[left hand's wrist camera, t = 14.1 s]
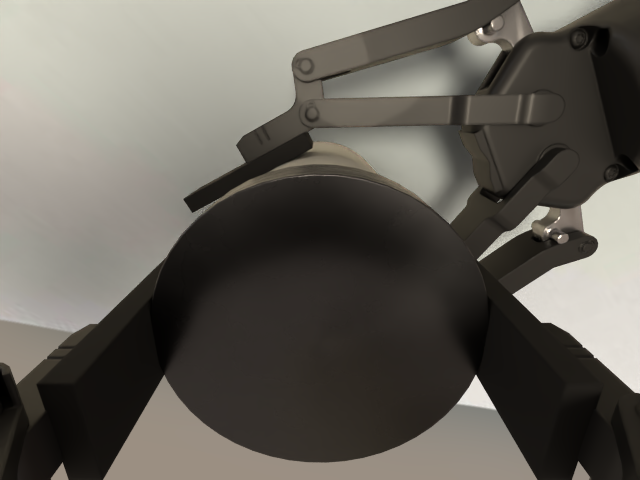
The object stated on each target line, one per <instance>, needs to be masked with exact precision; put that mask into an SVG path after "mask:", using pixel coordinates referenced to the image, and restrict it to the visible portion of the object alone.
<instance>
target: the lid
mask: <svg viewBox="0 0 640 480" xmlns="http://www.w3.org/2000/svg"><path fill="white" fill-rule="evenodd" d="M151 323H152V330H153V335H154V340H155V346H156V351H157V356H158V360H159V364H160V366H161V368H162V370H163V372H164V374H165V377H166V379H167V381H168V382H169V384H170V385H171V387H172V388H173V390H174V391H175V393H176V394H177V396H178V397H179V398H180V400H181V401H182V402H183V403H184V404H185V405H186V407H187V408H188V409H189V410H190V411H191V412H192V413H193V414H194V415H195V416H196V417H198V418H199V419H200V420H201V421H202V422H203V423H204V424H206V425H207V426H208V427H210V428H211V429H213V430H214V431H215V432H217V433H218V434H220V435H222V436H223V437H225V438H227V439H229V440H231V441H232V442H234V443H236V444H238V445H241V446H243V447H245V448H248V449H250V450H252V451H255V452H259V453H262V454H265V455H268V456H272V457H277V458H282V459H286V460H293V461H302V462H338V461H348V460H353V459H359V458H364V457H368V456H371V455H375V454H379V453H382V452H384V451H387V450H390V449H392V448H395V447H397V446H400V445H402V444H404V443H406V442H408V441H409V440H411V439H413V438H415V437H417V436H418V435H420V434H421V433H423V432H424V431H426V430H428V429H429V428H430V427H432V426H433V425H434V424H436V423H437V422H438V421H439V420H440V419H441V418H443V417H444V416H445V415H446V414H447V413H448V412H449V411H450V410H451V409H452V408H453V407H454V406H455V405H456V403H457V402H458V401H459V400H460V399H461V397H462V396H463V394H464V393H465V392H466V390H467V389H468V388H469V386H470V384H471V382H472V380H473V379H474V377H475V375H476V373H477V371H478V369H479V366H480V364H481V361H482V357H483V352H484V347H485V342H486V336H487V331H488V325H489V306H488V296H487V292H486V288H485V284H484V281H483V277H482V274H481V272H480V270H479V268H478V265H477V263H476V261H475V258H474V257H473V255H472V254H471V252H470V250H469V249H468V247H467V246H466V244H465V242H464V241H463V239H462V238H461V237H460V236H459V235H458V234H457V233H456V231H455V230H454V229H453V228H452V227H451V226H450V225H449V223H448V222H446V221H445V220H444V219H443V218H442V217H441V216H440V215H439V214H437V213H436V212H435V211H434V210H433V209H432V208H431V207H430V206H428V205H427V204H426V203H425V202H424V201H423V200H421V199H420V198H419V197H418V196H417V195H415V194H414V193H412V192H411V191H409V190H408V189H406V188H404V187H403V186H401V185H400V184H398V183H396V182H394V181H392V180H389V179H387V178H385V177H383V176H381V175H378V174H375V173H372V172H368V171H365V170H362V169H358V168H353V167H347V166H340V165H326V164H310V165H301V166H292V167H287V168H283V169H279V170H275V171H271V172H268V173H265V174H263V175H260V176H258V177H255V178H253V179H250V180H248V181H246V182H245V183H243V184H241V185H239V186H238V187H236V188H234V189H232V190H230V191H229V192H228V193H227V194H225V195H224V196H223V197H221V198H220V199H219V200H218V201H216V202H215V203H214V204H213V205H211V206H210V207H209V208H208V209H207V210H206V211H205V212H204V213H203V214H202V215H200V216H199V217H198V218H197V219H196V220H195V221H194V222H193V223H192V224H191V225H190V226H189V227H188V228H187V229H186V231H185V232H184V233H183V234H182V235H181V236H180V238H179V239H178V240H177V242H176V243H175V245H174V246H173V248H172V249H171V250H170V252H169V254H168V256H167V258H166V260H165V262H164V264H163V266H162V268H161V270H160V272H159V276H158V279H157V282H156V285H155V288H154V293H153V300H152V307H151Z"/></svg>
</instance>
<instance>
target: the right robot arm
mask: <svg viewBox="0 0 640 480" xmlns="http://www.w3.org/2000/svg"><path fill="white" fill-rule="evenodd" d="M466 35H467V37H468V39H469V41H470V42H471V43H472V44H473V45H476V46H482V45H485V44H487V43H496V44H498V45H499V46H500V47H501V48H502V51H501V53H500V54H499V56H498V58H497V59H496V61H495V63H494V64H493V66H492V68H491V69H490V71H489V73H488V74H487V76H486V78H485V79H484V81H483V83H482V84H481V86H480V88H479V89H478V91H477V93H476V94H475V95H459V96H422V97H380V98H338V99H324V95H323V87H322V81H325V80H328V79H332V78H335V77H339V76H342V75H345V74H349V73H352V72H356V71H359V70H363V69H366V68H369V67H373V66H376V65H380V64H383V63H387V62H390V61H393V60H397V59H400V58H404V57H407V56H411V55H414V54H417V53H421V52H424V51H428V50H431V49H435V48H438V47H441V46H444V45H447V44H450V43H452V42H454V41H456V40H458V39H460V38H462V37H464V36H466ZM292 71H293V76H294V83H295V90H296V99H295V103H294V105H293V106H292V108H291V109H290V110H288V111H287V112H285V113H284V114H282V115H280V116H278V117H276V118H275V119H273V120H271V121H269V122H268V123H266V124H264V125H262V126H260V127H259V128H257V129H255V130H253V131H252V132H250V133H248V134H246V135H244V136H243V137H242V138H241V140H240V141H239V142H238V144H237V145H236V146H237V148H238V149H239V151H240V153H241V154H242V156H243V158H244V160H245V161H246V163H244V164H243V165H241V166H239V167H237V168H235V169H234V170H232V171H230V172H228V173H226V174H224V175H223V176H221V177H219V178H217V179H215V180H213V181H212V182H210V183H208V184H206V185H204V186H202V187H201V188H199V189H198V190H196V191H195V192H193V193H192V194H190V195H189V196H187V197H186V198H184V201H185V202H186V204H187V205H188V207H189V208H190V210H191V211H192V213H193V212H195V211H197V210H198V209H200V208H202V207H204V206H206V205H208V204H210V203H211V202H213V201H215V200H217V199H219V198H221V197H223V196H224V195H225V194H227V193H228V192H229V191H230V190H232V189H234V188H236V187H238V186H239V185H241V184H243V183H245V182H246V181H248V180H250V179H253V178H255V177H258V176H260V175H263V174H265V173H267V172H269V171H271V170H273V169H275V168H276V167H279V166H280V165H282V164H284V163H286V162H288V161H290V160H292V159H293V158H295V157H297V156H299V155H301V154H303V153H305V152H307V151H308V150H310V149H312V148H313V141H312V139H311V137H310V135H309V133H308V131H310V130H312V129H314V128H336V127H380V126H423V125H462V129H461V130H459V131H458V132H459V135H460V137H461V140H462V143H463V145H464V146H465V148H466V149H467V150H468V152H469V153H470V154H471V156H472V159H473V172H474V175H475V178H476V180H477V183H478V185H479V186H478V188H477V189H476V190H475V191H474V192H473V193H472V194H471V195H470V197H469V198H468V200H467V205H466V207H465V208H464V209H463V210H462V212H461V213H460V214H459V215H458V216H457V217H456V218H455V219H454V220H453V222H452V223H451V224H450V226H451V227H452V228H453V229H454V230H455V231H456V233H457V234H458V235H459V236H460V237H461V238H462V239H463V241H464V242H465V244H466V246H467V247H468V249H469V250H470V252H471V254H472V255H473V257H474V258H475V259H476V260H477V259H478V258H479V257H480V256H481V255H482V254H483V253H484V251H485V250H486V249H487V248H488V247H489V246H490V245H491V244H492V243H493V242H494V241H495V240H496V239H497V238H498V237H499V236H500V235H501V234H502V233H503V232H506V231H511V230H512V229H514V228H515V227H517V226H518V225H519V224H520V223H521V222H522V221H523V220H524V219H525V217H526V216H527V215H528V214H529V213H530V212H531V211H532V210H533V209H534V208H535V207H536V206H537V205H538V206H545V207H550V210H549V212H548V214H547V215H546V216H545V217H544V218H543V219H541V220H535V221H534V222H532V224H531V227H532V230H529V231H526V232H524V233H522V234H520V235H518V236H516V237H515V238H513V239H511V240H510V241H508V242H507V243H505V244H504V245H502V246H501V247H500V248H498V249H497V250H495V251H494V252H492V253H491V254H489V255H488V256H486V257H485V258H483V259H482V260H481V261H479V263H480V264H481V265H482V266H483V267H484V268H485V269H486V270H487V271H488V272H489V273H490V274H492V275H493V276H494V277H495V278H496V279H497V280H498V281H499V282H500V283H501V284H502V285H503V286H504V287H505V288H506V289H507V290H508V291H509V292H510V293H511V294H513V293H515V292H517V291H518V290H520V289H521V288H523V287H524V286H526V285H527V284H529V283H531V282H532V281H534V280H535V279H537V278H538V277H540V276H541V275H543V274H544V273H546V272H548V271H549V270H551V269H552V268H554V267H557V266H561V265H564V264H567V263H570V262H574V261H577V260H580V259H583V258H587V257H589V256H591V255H592V254H593V253H594V252H595V251H596V249H597V248H598V242H597V239H596V238H594V237H593V236H591V235H589V234H587V233H585V232H584V230H583V221H582V213H581V205H582V204H583V203H585V202H586V201H587V200H588V199H589V198H590V197H591V196H592V195H593V194H594V193H595V192H596V191H597V190H598V189H599V188H600V187H602V186H603V185H605V184H606V183H609V182H611V181H614V180H617V179H621V178H624V177H627V176H631V175H634V174H637V173H639V172H640V0H613V1H612V2H610V3H608V4H606V5H604V6H602V7H600V8H598V9H596V10H595V11H593V12H591V13H589V14H587V15H585V16H583V17H581V18H580V19H578V20H576V21H574V22H572V23H570V24H568V25H566V26H565V27H563V28H561V29H559V30H557V31H555V32H535V33H534V32H533V30H532V27H531V25H530V23H529V20H528V18H527V16H526V13H525V11H524V9H523V7H522V4H521V2H520V0H467V1H465V2H462V3H459V4H455V5H452V6H449V7H445V8H442V9H439V10H435V11H432V12H429V13H425V14H422V15H419V16H415V17H412V18H409V19H405V20H402V21H399V22H395V23H392V24H389V25H386V26H382V27H379V28H376V29H372V30H369V31H366V32H362V33H359V34H356V35H352V36H349V37H346V38H342V39H339V40H336V41H332V42H329V43H326V44H322V45H319V46H316V47H312V48H309V49H306V50H302V51H300V52H299V53H297V54H296V55H295V57H294V58H293V61H292ZM500 199H503V200H502V201H501V202H499V203H497V202H498V201H499V200H500Z"/></svg>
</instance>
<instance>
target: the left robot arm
mask: <svg viewBox="0 0 640 480" xmlns="http://www.w3.org/2000/svg"><path fill="white" fill-rule="evenodd" d="M166 258H167V257H166ZM166 258H165V259H164V260H163V261H162V262H161V263H160V264H159V265H158V266H157V267H156V268H155V269H154V270H153V271H152V272H151V273H150V274H149V275H148V276H147V277H146V278H145V279H144V280H143V281H142V282H141V283H140V284H139V285H138V286H137V287H136V288H134V289H133V290H132V291H131V292H130V293H129V294H128V295H127V296H126V297H125V298H124V299H123V300H122V301H121V302H120V303H119V304H118V305H117V306H116V307H115V308H114V309H113V310H112V311H111V312H110V313H109V314H108V315H107V316H106V317H105V318H104V319H103V320H102V321H101V322H100V323H99V324H89V325H88V326H86V327H84V328H82V329H81V330H79V331H77V332H75V333H73V334H72V335H71V336H70V337H68V338H67V339H66V340H65V341H64V342H63V343H62V344H61V345H60V346H59V348H58V349H55V350H54V351H53V352H52V353H51V354H50V355H49V356H48V357H47V359H45V360H43V361H42V362H41V363H40V364H39V365H38V366H37V367H36V368H34V369H33V370H32V371H31V372H30V373H29V374H28V375H27V376H26V377H25V378H24V379H22V380H21V381H20V382H19V383H18V384H17V385H16V383H15V380H14V378H13V375H12V372H11V369H10V367H9V366H8V365H6V364H4V363H0V480H51V477H52V476H53V474H54V473H55V472H56V470H57V469H58V468H59V466H60V465H61V464H62V462H63V464H64V467H65V470H66V473H67V476H68V479H69V480H103V479H104V477H105V475H106V474H107V472H108V470H109V468H110V467H111V465H112V463H113V462H114V460H115V458H116V456H117V455H118V453H119V451H120V450H121V448H122V446H123V444H124V443H125V441H126V439H127V438H128V436H129V434H130V432H131V431H132V429H133V427H134V426H135V424H136V422H137V420H138V419H139V417H140V415H141V414H142V412H143V410H144V408H145V407H146V405H147V403H148V402H149V400H150V398H151V396H152V395H153V393H154V391H155V390H156V388H157V386H158V384H159V383H160V381H161V379H162V378H163V376H164V372H163V370H162V368H161V366H160V364H159V360H158V356H157V351H156V346H155V340H154V335H153V330H152V323H151V307H152V300H153V293H154V288H155V285H156V282H157V279H158V276H159V272H160V270H161V268H162V266H163V264H164V262H165V260H166ZM475 261H476V263H477V265H478V268H479V270H480V272H481V274H482V277H483V281H484V284H485V288H486V292H487V296H488V306H489V325H488V331H487V336H486V342H485V347H484V352H483V357H482V361H481V364H480V366H479V369H478V371H477V373H476V375H477V377H478V379H479V380H480V382H481V384H482V386H483V387H484V389H485V391H486V392H487V394H488V396H489V398H490V399H491V401H492V403H493V404H494V406H495V408H496V410H497V411H498V413H499V415H500V416H501V418H502V420H503V422H504V423H505V425H506V427H507V428H508V430H509V432H510V433H511V435H512V437H513V439H514V440H515V442H516V444H517V445H518V447H519V449H520V451H521V452H522V454H523V456H524V457H525V459H526V461H527V463H528V464H529V466H530V468H531V469H532V471H533V473H534V475H535V476H536V478H537V480H572V477H573V475H574V471H575V469H576V466H577V463H578V461H579V462H580V464H581V465H582V466H583V468H584V469H585V471H586V472H587V473H588V475H589V476H590V479H589V480H640V394H639V393H634V392H633V391H632V390H631V389H630V388H629V387H628V386H627V385H626V384H624V383H623V382H622V381H621V380H620V379H619V378H618V377H617V376H616V375H615V374H613V373H612V372H611V371H610V370H609V369H608V368H607V367H606V366H605V365H603V364H602V363H601V362H600V361H599V360H598V359H597V358H594V355H592V354H591V353H590V352H589V351H588V350H587V349H586V348H583V347H582V345H581V344H580V343H579V342H578V341H577V340H576V339H575V338H574V337H573V336H571V335H570V334H569V333H568V332H566V331H564V330H562V329H561V328H559V327H557V326H555V325H553V324H552V323H541V322H540V321H539V320H538V319H537V318H536V317H535V316H534V315H533V314H532V313H531V312H530V311H529V310H527V309H526V308H525V307H524V306H523V305H522V304H521V303H520V302H519V301H518V300H517V299H516V298H515V297H514V296H513V295H512V294H511V293H510V292H509V291H508V290H507V289H506V288H505V287H504V286H503V285H502V284H501V283H500V282H499V281H498V280H497V279H496V278H495V277H494V276H493V275H492V274H490V273H489V272H488V271H487V270H486V269H485V268H484V267H483V266H482V265H481V264H480V263H479V262H478V261H477V260H476V259H475Z"/></svg>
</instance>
